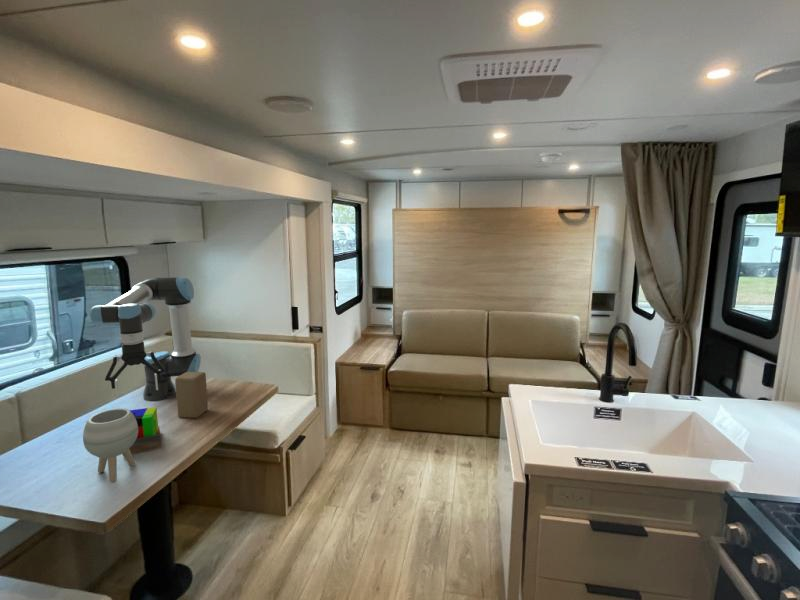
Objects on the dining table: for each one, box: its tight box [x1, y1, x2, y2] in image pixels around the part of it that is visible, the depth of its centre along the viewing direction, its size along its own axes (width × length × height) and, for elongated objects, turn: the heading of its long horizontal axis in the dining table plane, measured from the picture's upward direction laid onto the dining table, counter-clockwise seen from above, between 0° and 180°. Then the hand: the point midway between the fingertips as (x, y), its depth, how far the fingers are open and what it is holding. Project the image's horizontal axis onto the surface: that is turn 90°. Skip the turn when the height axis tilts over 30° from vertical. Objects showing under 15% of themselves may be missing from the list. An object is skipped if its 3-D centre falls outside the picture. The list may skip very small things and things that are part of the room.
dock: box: [129, 425, 162, 455], centre depth 166 cm, size 15×13×6 cm
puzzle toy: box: [129, 406, 159, 439], centre depth 166 cm, size 10×10×10 cm
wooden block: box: [174, 371, 209, 419], centre depth 192 cm, size 10×10×20 cm
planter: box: [82, 408, 138, 483], centre depth 144 cm, size 16×16×22 cm
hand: (137, 392), depth 163 cm, fingers open, 13 cm apart
